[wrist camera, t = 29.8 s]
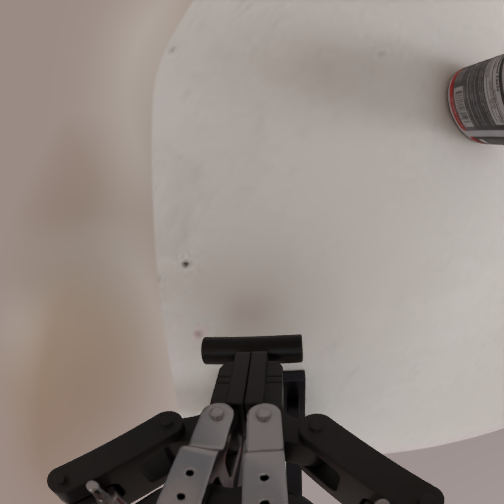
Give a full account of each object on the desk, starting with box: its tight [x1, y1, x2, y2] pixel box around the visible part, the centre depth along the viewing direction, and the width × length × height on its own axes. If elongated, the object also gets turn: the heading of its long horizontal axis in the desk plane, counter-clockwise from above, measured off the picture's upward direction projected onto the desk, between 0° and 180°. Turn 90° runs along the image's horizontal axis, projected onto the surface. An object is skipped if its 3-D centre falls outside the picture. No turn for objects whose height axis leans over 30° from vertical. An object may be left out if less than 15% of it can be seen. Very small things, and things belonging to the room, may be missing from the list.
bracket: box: [233, 370, 305, 496], centre depth 19 cm, size 8×6×13 cm
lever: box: [201, 334, 303, 364], centre depth 15 cm, size 14×5×2 cm, turn 5°
